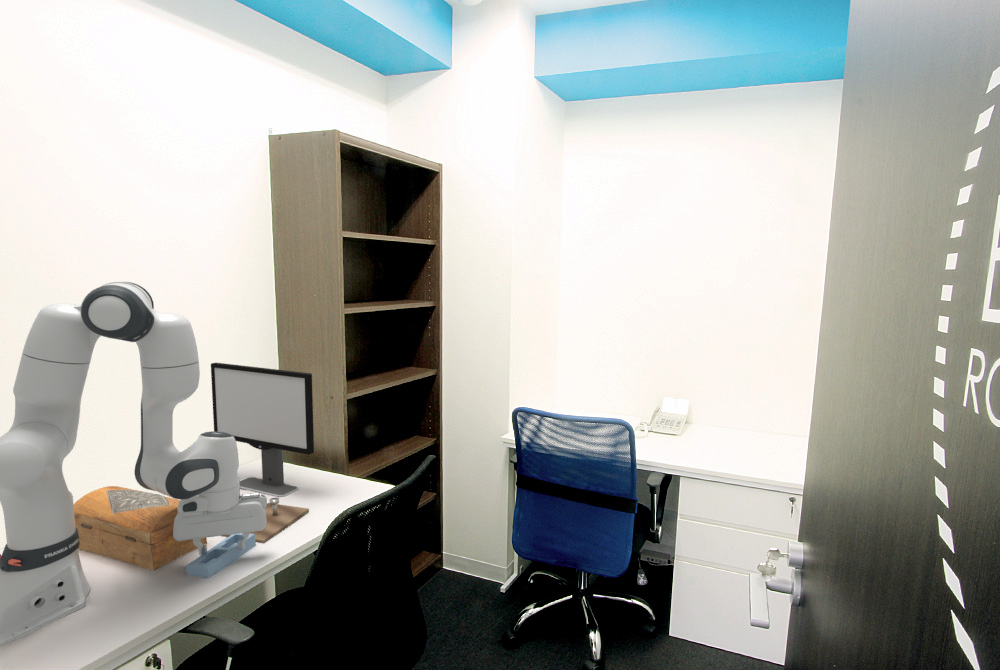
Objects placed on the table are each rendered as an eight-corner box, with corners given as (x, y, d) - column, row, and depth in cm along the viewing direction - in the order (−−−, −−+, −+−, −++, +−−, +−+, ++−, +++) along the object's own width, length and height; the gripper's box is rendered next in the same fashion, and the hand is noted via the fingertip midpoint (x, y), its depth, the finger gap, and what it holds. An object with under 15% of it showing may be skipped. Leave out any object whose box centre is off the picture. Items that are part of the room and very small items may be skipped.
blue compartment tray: (255, 544, 142) (254, 534, 142) (209, 579, 126) (207, 567, 126) (235, 543, 144) (234, 532, 143) (187, 577, 128) (185, 565, 127)
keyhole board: (263, 544, 143) (263, 540, 143) (219, 536, 147) (219, 533, 147) (308, 511, 163) (308, 508, 163) (268, 505, 166) (268, 502, 166)
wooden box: (211, 544, 144) (209, 493, 142) (151, 577, 128) (148, 520, 127) (133, 523, 154) (129, 476, 153) (69, 551, 139) (64, 499, 137)
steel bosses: (257, 529, 150) (257, 513, 149) (249, 527, 150) (249, 511, 150) (281, 513, 159) (281, 498, 159) (273, 512, 160) (273, 497, 159)
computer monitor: (210, 481, 184) (204, 364, 179) (231, 472, 192) (226, 360, 187) (306, 503, 168) (302, 375, 163) (324, 493, 176) (321, 371, 171)
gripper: (267, 487, 139) (269, 539, 140) (176, 496, 132) (179, 551, 134) (265, 496, 133) (267, 551, 134) (169, 507, 126) (172, 564, 128)
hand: (222, 551), depth 134 cm, fingers open, 7 cm apart
